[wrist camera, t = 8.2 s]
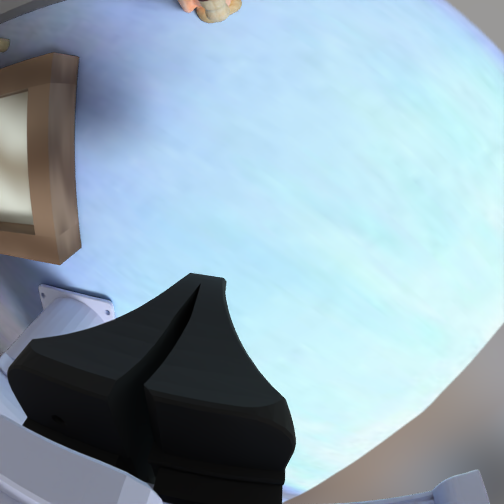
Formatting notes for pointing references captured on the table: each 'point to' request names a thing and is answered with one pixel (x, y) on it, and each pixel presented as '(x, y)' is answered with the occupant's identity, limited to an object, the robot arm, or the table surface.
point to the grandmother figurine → (211, 8)
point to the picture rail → (19, 12)
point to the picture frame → (38, 159)
